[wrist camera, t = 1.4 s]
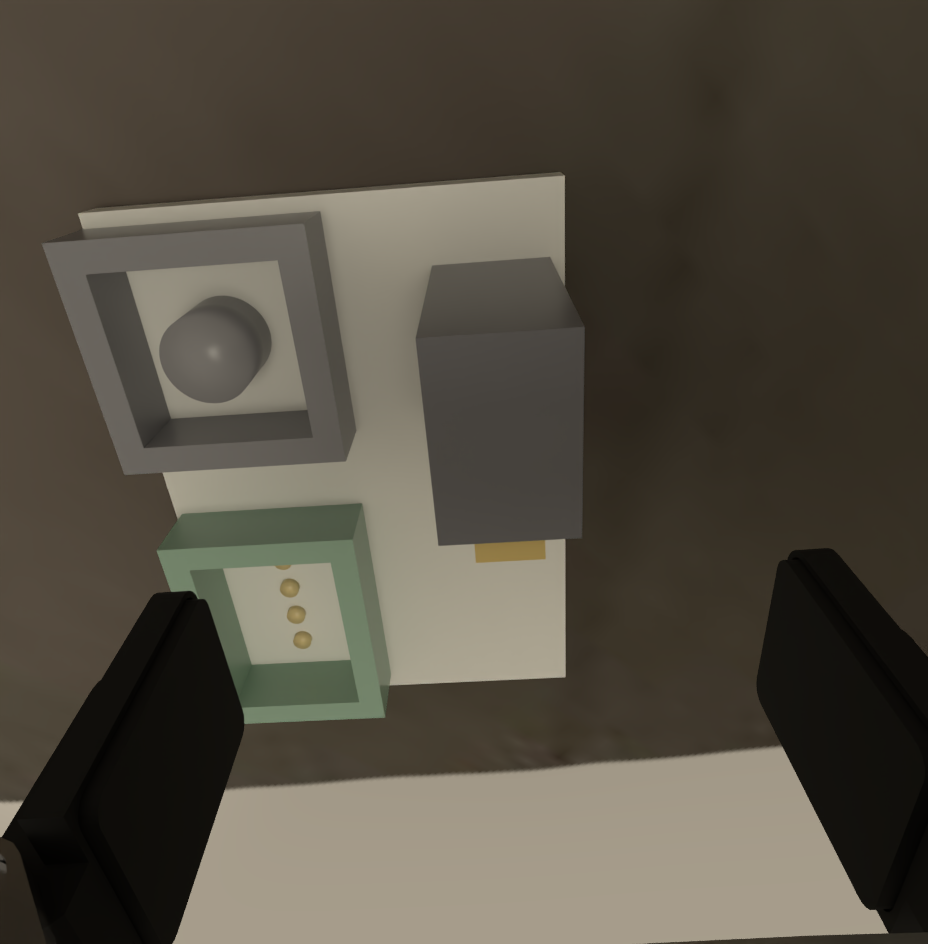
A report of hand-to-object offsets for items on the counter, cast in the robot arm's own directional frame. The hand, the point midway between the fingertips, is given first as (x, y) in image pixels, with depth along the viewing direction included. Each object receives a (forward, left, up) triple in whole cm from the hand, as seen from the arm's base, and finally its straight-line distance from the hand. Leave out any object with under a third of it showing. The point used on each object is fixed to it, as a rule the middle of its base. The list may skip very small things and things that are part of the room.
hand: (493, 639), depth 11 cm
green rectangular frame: (+9, +11, -15) cm, 21 cm away
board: (+5, +6, -16) cm, 18 cm away
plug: (-1, 0, -15) cm, 15 cm away
